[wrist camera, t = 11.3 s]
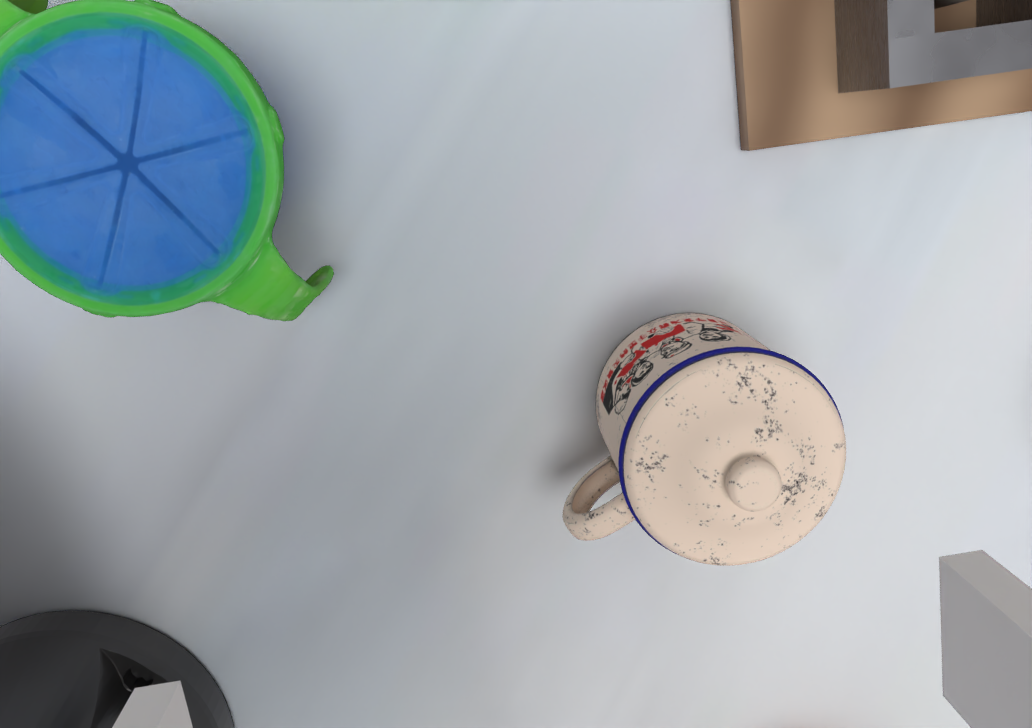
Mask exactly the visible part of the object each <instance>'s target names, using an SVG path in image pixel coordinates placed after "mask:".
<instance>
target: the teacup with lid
mask: <svg viewBox="0 0 1032 728" xmlns="http://www.w3.org/2000/svg"><path fill="white" fill-rule="evenodd" d="M596 414H597V421H598V425H599V429H600V431H601V434H602V437H603V439H604V441H605V443H606V445H607V448H608V450H609V452H610V454H611V455H610V456H609V457H608V458H607V459H605V460H604V461H602V462H601V463H599V464H598V465H597V466H595V467H594V468H593V469H591V470H590V471H589V472H588V473H587V474H585V475H584V476H583V477H582V478H581V479H580V480H579V481H578V483H577V484H576V485H575V486H574V488H573V489H572V490H571V492H570V494H569V495H568V497H567V499H566V502H565V504H564V508H563V521H564V523H565V525H566V527H567V528H568V530H569V531H570V532H571V534H572V535H573V536H574V537H576V538H577V539H580V540H586V541H587V540H595V539H599V538H602V537H605V536H608V535H610V534H612V533H614V532H616V531H617V530H619V529H621V528H622V527H624V526H626V525H627V524H629V523H630V522H632V521H633V520H635V519H636V521H637V522H638V523H639V525H640V526H641V527H642V529H643V530H644V531H645V532H646V533H647V534H648V535H649V536H650V537H651V538H653V539H654V540H655V541H656V542H657V543H659V544H660V545H662V546H663V547H665V548H666V549H668V550H670V551H672V552H673V553H675V554H678V555H680V556H682V557H685V558H687V559H690V560H693V561H697V562H700V563H705V564H711V565H742V564H747V563H753V562H757V561H760V560H764V559H766V558H769V557H772V556H774V555H776V554H778V553H781V552H783V551H784V550H786V549H788V548H790V547H791V546H793V545H794V544H796V543H797V542H799V541H800V540H801V539H802V538H804V537H805V536H806V535H807V534H808V533H809V532H810V531H811V530H812V529H813V528H814V527H815V526H816V525H817V524H818V523H819V522H820V520H821V519H822V518H823V517H824V515H825V514H826V512H827V511H828V509H829V508H830V506H831V504H832V503H833V501H834V499H835V497H836V494H837V492H838V490H839V487H840V484H841V481H842V477H843V473H844V468H845V461H846V441H845V434H844V428H843V423H842V420H841V416H840V413H839V411H838V408H837V406H836V404H835V402H834V400H833V398H832V396H831V395H830V393H829V392H828V390H827V389H826V388H825V386H824V385H823V384H822V383H821V382H820V380H819V379H818V378H817V377H816V376H815V375H814V374H812V373H811V372H810V371H809V370H808V369H806V368H805V367H804V366H802V365H801V364H799V363H798V362H796V361H794V360H793V359H791V358H788V357H786V356H784V355H782V354H779V353H776V352H773V351H770V350H769V349H768V348H766V347H765V346H763V345H762V344H761V343H759V342H758V341H756V340H755V339H754V338H752V337H751V336H749V335H748V334H747V333H745V332H744V331H742V330H741V329H740V328H738V327H736V326H735V325H733V324H731V323H729V322H727V321H725V320H723V319H720V318H717V317H714V316H710V315H705V314H698V313H682V314H674V315H669V316H665V317H662V318H659V319H656V320H653V321H651V322H649V323H647V324H645V325H643V326H642V327H640V328H638V329H637V330H635V331H634V332H633V333H631V334H630V335H629V336H628V337H627V338H626V339H624V340H623V341H622V342H621V344H620V345H619V346H618V347H617V348H616V349H615V351H614V352H613V353H612V355H611V356H610V358H609V359H608V361H607V363H606V365H605V367H604V369H603V371H602V374H601V377H600V380H599V384H598V388H597V394H596ZM618 482H620V484H621V488H622V493H621V494H619V495H618V496H616V497H615V498H613V499H612V500H610V501H609V502H607V503H606V504H604V505H602V506H601V507H599V508H597V509H595V510H593V511H590V509H591V508H592V506H593V505H594V503H595V502H596V501H597V500H598V499H599V498H600V497H601V496H602V495H603V494H604V493H605V492H606V491H608V490H609V489H610V488H612V487H613V486H614V485H616V484H617V483H618ZM589 511H590V512H589Z"/></svg>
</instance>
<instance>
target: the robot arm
mask: <svg viewBox="0 0 1032 728" xmlns="http://www.w3.org/2000/svg"><path fill="white" fill-rule="evenodd" d="M939 570H940V607H941V645H942V682H943V696H944V697H945V698H946V700H947V701H948V702H949V703H950V704H951V705H952V706H953V708H954V709H955V710H956V711H957V712H958V713H959V714H960V716H961V717H962V718H963V719H964V720H965V721H966V722H967V724H968V725H969V726H970V727H971V728H1032V589H1031V588H1030V587H1029V586H1027V585H1026V584H1025V583H1024V582H1022V581H1021V580H1020V579H1018V578H1017V577H1016V576H1015V575H1013V574H1012V573H1011V572H1010V571H1008V570H1007V569H1006V568H1004V567H1003V566H1002V565H1001V564H999V563H998V562H997V561H996V560H994V559H993V558H992V557H990V556H989V555H988V554H987V553H985V552H984V551H983V550H979V551H973V552H967V553H961V554H955V555H948V556H942V557H939ZM0 728H234V726H233V721H232V718H231V714H230V711H229V708H228V706H227V703H226V701H225V699H224V697H223V695H222V693H221V691H220V689H219V688H218V686H217V684H216V683H215V681H214V680H213V679H212V677H211V676H210V674H209V673H208V672H207V671H206V670H205V668H204V667H203V666H202V665H201V664H200V663H199V662H198V661H197V660H196V659H195V658H194V657H193V656H192V655H191V654H190V653H189V652H187V651H186V650H185V649H184V648H182V647H181V646H180V645H178V644H177V643H176V642H174V641H173V640H171V639H170V638H168V637H166V636H165V635H163V634H161V633H159V632H157V631H156V630H154V629H152V628H149V627H147V626H145V625H143V624H140V623H137V622H135V621H132V620H129V619H126V618H122V617H118V616H114V615H110V614H104V613H98V612H89V611H57V612H48V613H42V614H37V615H33V616H29V617H25V618H22V619H19V620H16V621H13V622H11V623H8V624H6V625H4V626H2V627H0Z"/></svg>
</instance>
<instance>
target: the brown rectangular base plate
mask: <svg viewBox="0 0 1032 728" xmlns="http://www.w3.org/2000/svg"><path fill="white" fill-rule="evenodd" d="M731 14H732V28H733V42H734V56H735V70H736V85H737V99H738V113H739V127H740V141H741V150H748V151H750V150H757V149H764V148H771V147H778V146H785V145H792V144H799V143H807V142H814V141H821V140H828V139H835V138H842V137H849V136H856V135H863V134H870V133H878V132H885V131H892V130H899V129H906V128H913V127H920V126H927V125H934V124H942V123H949V122H956V121H963V120H970V119H977V118H984V117H991V116H998V115H1006V114H1013V113H1020V112H1027V111H1032V69H1025V70H1018V71H1011V72H1004V73H997V74H989V75H982V76H975V77H968V78H961V79H954V80H946V81H939V82H932V83H925V84H918V85H911V86H903V87H896V88H889V89H878V90H868V91H857V92H847V93H838V77H837V54H836V31H835V8H834V0H731ZM934 26H935V33H939V32H946V31H953V30H960V29H968V28H975V27H976V0H934Z"/></svg>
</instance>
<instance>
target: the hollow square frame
mask: <svg viewBox="0 0 1032 728" xmlns="http://www.w3.org/2000/svg"><path fill="white" fill-rule="evenodd" d="M834 8H835V31H836V54H837V77H838V93H847V92H857V91H868V90H878V89H889V88H896V87H903V86H911V85H918V84H925V83H932V82H939V81H946V80H954V79H961V78H968V77H975V76H982V75H989V74H997V73H1004V72H1011V71H1018V70H1025V69H1032V0H976V27H975V28H968V29H960V30H953V31H946V32H939V33H935V26H934V0H834Z"/></svg>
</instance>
